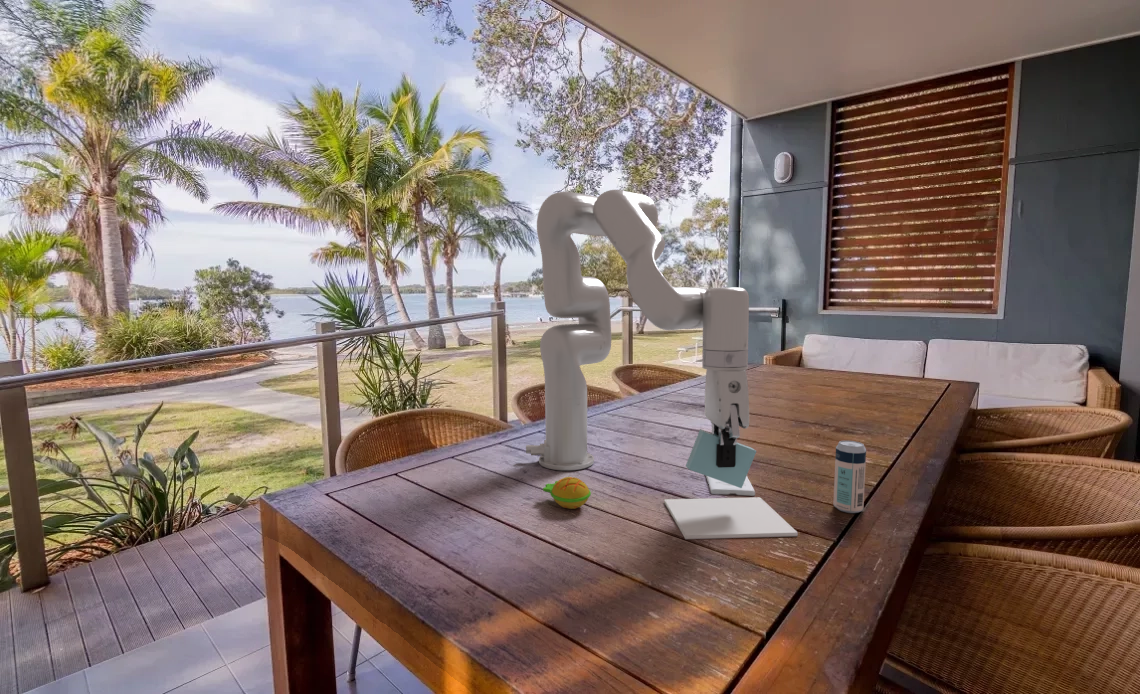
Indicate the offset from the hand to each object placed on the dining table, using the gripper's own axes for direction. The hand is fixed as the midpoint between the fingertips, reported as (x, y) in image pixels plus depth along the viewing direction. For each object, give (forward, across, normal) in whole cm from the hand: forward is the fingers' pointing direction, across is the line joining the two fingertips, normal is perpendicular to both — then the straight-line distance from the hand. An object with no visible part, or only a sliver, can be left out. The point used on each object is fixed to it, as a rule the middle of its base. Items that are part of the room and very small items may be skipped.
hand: (723, 463), depth 94 cm
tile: (+2, 0, +2) cm, 3 cm away
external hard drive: (+10, +15, -6) cm, 18 cm away
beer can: (+9, 0, -23) cm, 25 cm away
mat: (+9, -2, 0) cm, 9 cm away
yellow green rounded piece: (+9, +5, +27) cm, 29 cm away
